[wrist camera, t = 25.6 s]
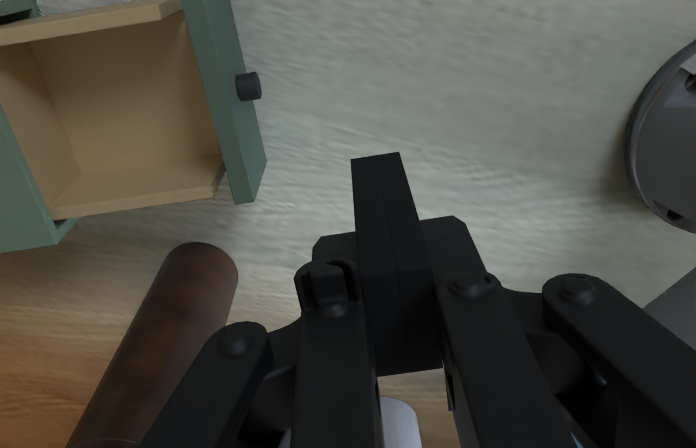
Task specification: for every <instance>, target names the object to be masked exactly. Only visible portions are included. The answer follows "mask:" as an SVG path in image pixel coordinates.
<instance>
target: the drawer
mask: <svg viewBox="0 0 696 448" xmlns="http://www.w3.org/2000/svg"><path fill="white" fill-rule="evenodd" d="M261 95H262V92H261V85H260V80H259V77H258V74H257V73H256V72H251V73H246V69H245V65H244V61H243V56H242V52H241V48H240V43H239V39H238V35H237V30H236V26H235V22H234V17H233V13H232V9H231V4H230V0H140V1H134V2H128V3H122V4H116V5H110V6H104V7H98V8H92V9H86V10H79V11H73V12H67V13H61V14H55V15H49V16H43V17H37V18H31V19H25V20H19V21H14V22H10V23H6V24H2V25H0V103H1V105H2V108H3V110H4V112H5V114H6V117H7V119H8V121H9V123H10V126H11V128H12V130H13V132H14V135H15V137H16V139H17V141H18V144H19V146H20V148H21V150H22V153H23V155H24V157H25V159H26V162H27V164H28V166H29V168H30V171H31V173H32V175H33V177H34V180H35V182H36V184H37V186H38V189H39V191H40V193H41V195H42V198H43V200H44V202H45V204H46V207H47V209H48V211H49V213H50V216H51V218H52V220H53V221H54V220H61V219H68V218H75V217H82V216H89V215H96V214H103V213H110V212H116V211H123V210H130V209H137V208H144V207H151V206H158V205H165V204H172V203H179V202H186V201H193V200H200V199H206V198H213V197H214V195H215V193H216V190H217V188H218V186H219V184H220V182H221V180H222V178H223V176H224V174H225V171H226V173H227V176H228V180H229V184H230V187H231V191H232V195H233V199H234V202H235V204H243V203H250V202H254V201H255V198H256V194H257V191H258V188H259V185H260V182H261V178H262V175H263V172H264V169H265V166H266V162H267V160H266V156H265V152H264V147H263V143H262V139H261V134H260V130H259V126H258V121H257V117H256V113H255V108H254V104H253V100H256V99H260V98H261Z"/></svg>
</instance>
